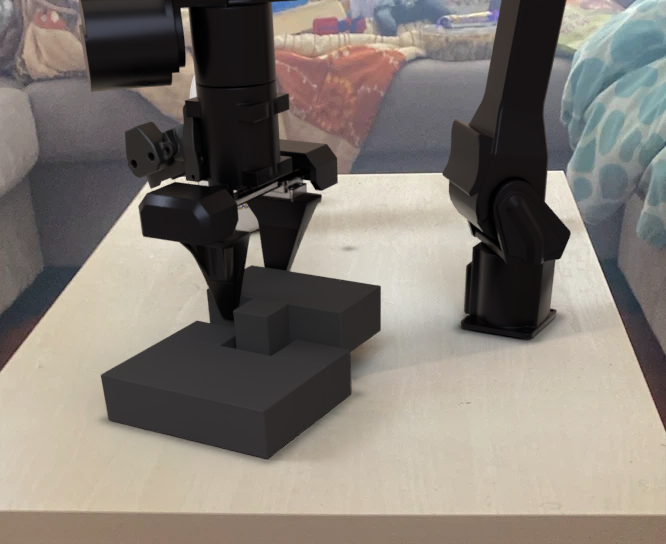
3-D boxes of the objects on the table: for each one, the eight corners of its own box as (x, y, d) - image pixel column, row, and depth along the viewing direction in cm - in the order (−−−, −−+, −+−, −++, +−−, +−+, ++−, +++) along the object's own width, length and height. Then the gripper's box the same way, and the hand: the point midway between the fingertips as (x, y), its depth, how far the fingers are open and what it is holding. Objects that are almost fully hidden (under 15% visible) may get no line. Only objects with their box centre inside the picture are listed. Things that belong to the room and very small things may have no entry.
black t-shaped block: (381, 330, 83) (381, 285, 80) (321, 373, 76) (319, 326, 74) (254, 308, 87) (251, 264, 85) (188, 346, 81) (183, 301, 79)
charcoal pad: (351, 394, 79) (350, 349, 77) (267, 459, 71) (263, 411, 69) (201, 363, 85) (196, 319, 82) (108, 420, 77) (99, 374, 75)
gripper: (216, 53, 82) (234, 258, 93) (60, 97, 70) (100, 328, 80) (338, 61, 78) (343, 276, 88) (194, 110, 66) (219, 352, 76)
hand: (253, 305), depth 83 cm, fingers closed on black t-shaped block, 6 cm apart
